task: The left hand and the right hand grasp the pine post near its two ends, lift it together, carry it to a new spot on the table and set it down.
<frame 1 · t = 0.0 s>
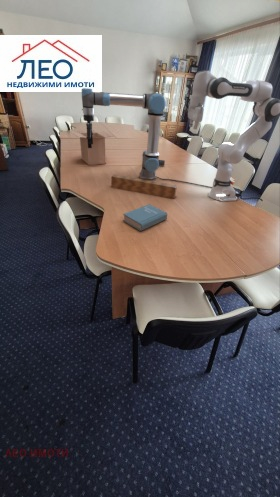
left hand: (90, 146, 173), 28 cm above the table, tool pointing down, fingers open, 13 cm apart
right hand: (192, 127, 146), 48 cm above the table, tool pointing down, fingers open, 8 cm apart
book: (145, 220, 139), on the table
post: (142, 191, 178), on the table
laser sight: (153, 165, 239), on the table
box: (93, 161, 237), on the table
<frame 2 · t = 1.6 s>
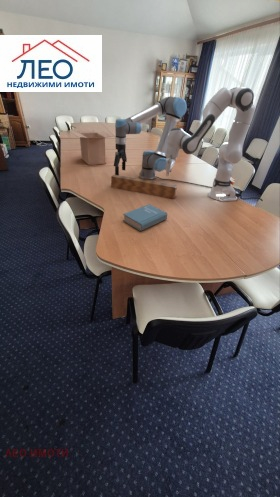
left hand: (120, 172, 175), 12 cm above the table, tool pointing down, fingers open, 13 cm apart
right hand: (168, 173, 163), 17 cm above the table, tool pointing down, fingers open, 8 cm apart
nothing on the table moved.
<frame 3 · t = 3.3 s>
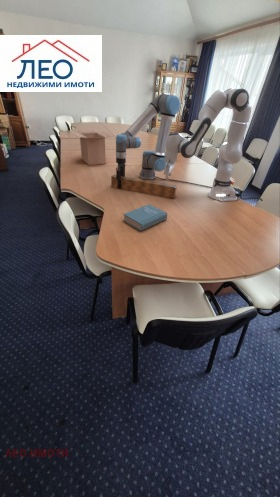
left hand: (120, 186, 181), 1 cm above the table, tool pointing down, fingers closed on post, 5 cm apart
right hand: (168, 177, 165), 14 cm above the table, tool pointing down, fingers open, 8 cm apart
post: (142, 191, 178), on the table, touching left hand
everything else where it was.
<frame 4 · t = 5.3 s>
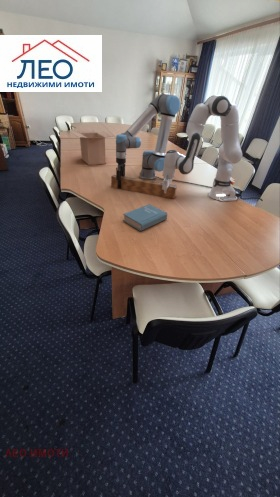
left hand: (120, 186, 181), 1 cm above the table, tool pointing down, fingers closed on post, 5 cm apart
right hand: (166, 191, 171), 3 cm above the table, tool pointing down, fingers closed on post, 5 cm apart
post: (142, 191, 178), on the table, touching left hand, right hand
everything else where it was.
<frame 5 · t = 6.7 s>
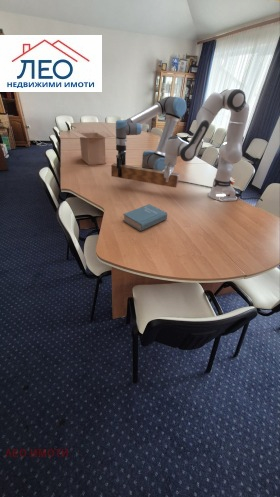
left hand: (121, 175, 176), 10 cm above the table, tool pointing down, fingers closed on post, 5 cm apart
right hand: (168, 180, 166), 12 cm above the table, tool pointing down, fingers closed on post, 5 cm apart
post: (143, 180, 172), point 9 cm above the table, touching left hand, right hand
everything else where it was.
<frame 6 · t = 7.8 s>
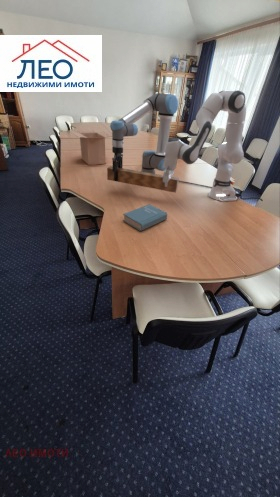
left hand: (117, 179, 166), 10 cm above the table, tool pointing down, fingers closed on post, 5 cm apart
right hand: (167, 184, 156), 13 cm above the table, tool pointing down, fingers closed on post, 5 cm apart
post: (141, 184, 163), point 10 cm above the table, touching left hand, right hand
everything else where it was.
when the left hand's fingers open (2 cm above the table, at t = 10.1 s): post drops 2 cm, on the table.
when the right hand's fingers open (5 cm above the table, at t = 10.3 s): post stays where it is, on the table.
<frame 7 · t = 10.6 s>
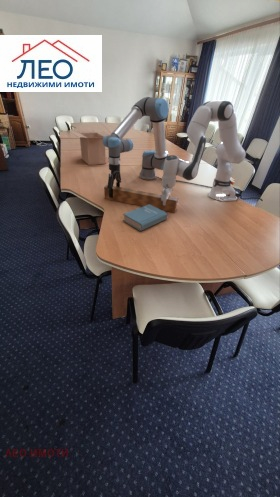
left hand: (114, 194, 160), 4 cm above the table, tool pointing down, fingers open, 12 cm apart
right hand: (165, 202, 151), 5 cm above the table, tool pointing down, fingers open, 8 cm apart
post: (139, 204, 158), on the table
everything else where it was.
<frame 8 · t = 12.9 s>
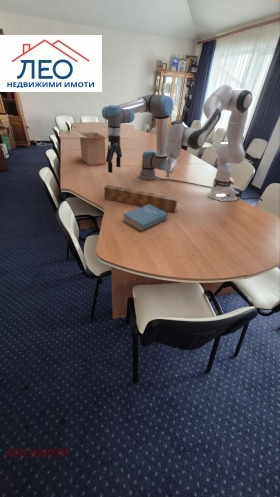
left hand: (114, 169, 150), 21 cm above the table, tool pointing down, fingers open, 13 cm apart
right hand: (169, 175, 140), 24 cm above the table, tool pointing down, fingers open, 8 cm apart
nothing on the table moved.
at the end: post inside the target area (0.2 cm from its centre), on the table; post tilted 0°; post never tilted more than 2° during the clip; both hands held the post at the same time; the left hand is holding nothing; the right hand is holding nothing; post at rest at the end (0.0 cm/s) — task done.
